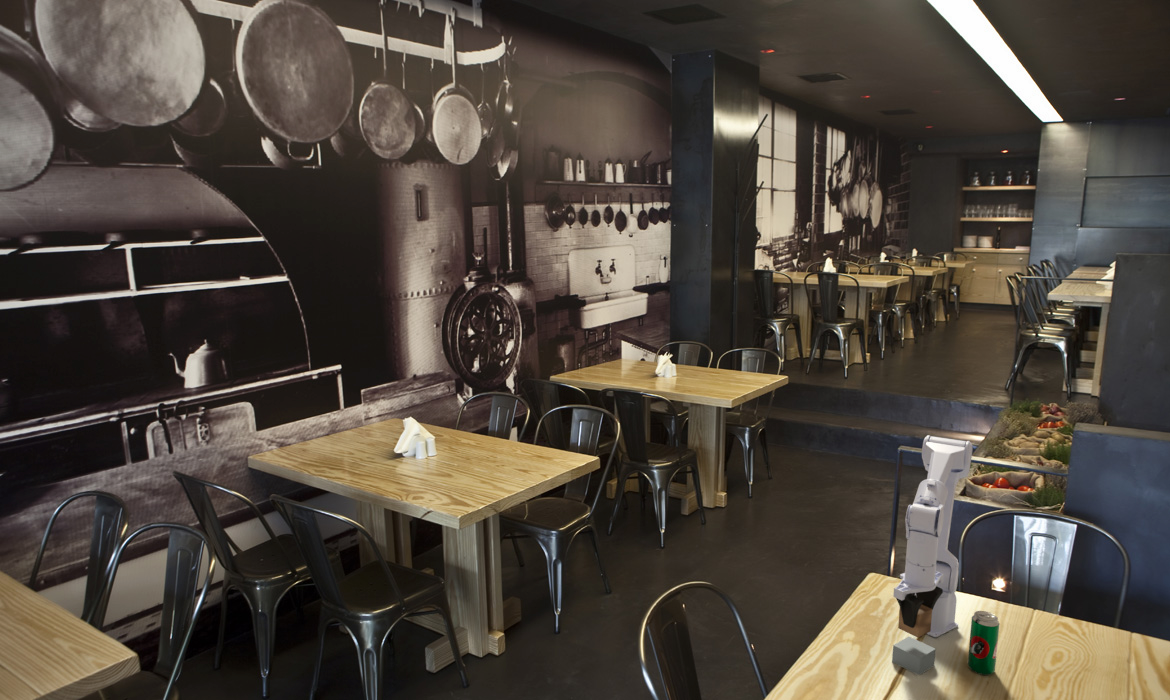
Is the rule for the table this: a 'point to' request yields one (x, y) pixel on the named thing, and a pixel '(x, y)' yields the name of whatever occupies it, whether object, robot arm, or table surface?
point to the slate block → (913, 655)
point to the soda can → (983, 642)
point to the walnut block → (918, 622)
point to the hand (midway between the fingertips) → (916, 622)
